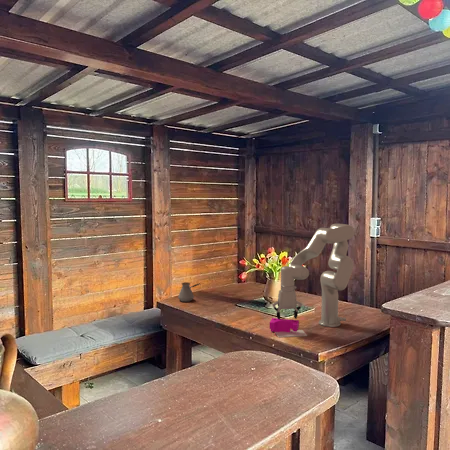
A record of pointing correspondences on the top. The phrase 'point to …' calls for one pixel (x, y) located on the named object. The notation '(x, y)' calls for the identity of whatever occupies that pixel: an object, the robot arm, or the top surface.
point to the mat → (291, 333)
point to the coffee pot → (186, 292)
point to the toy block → (283, 325)
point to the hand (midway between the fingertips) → (287, 318)
